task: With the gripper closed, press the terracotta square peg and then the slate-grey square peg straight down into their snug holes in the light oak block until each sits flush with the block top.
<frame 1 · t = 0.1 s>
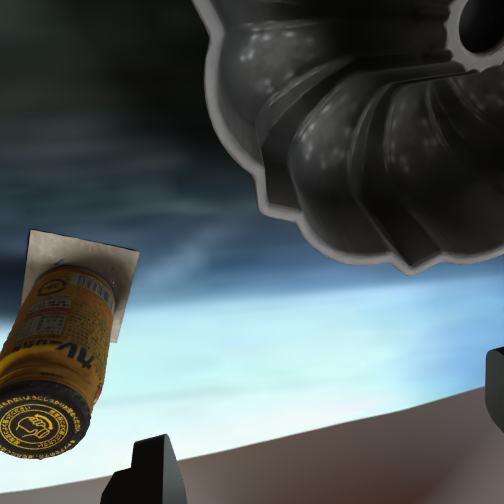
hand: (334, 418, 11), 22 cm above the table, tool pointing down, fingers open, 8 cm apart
bundt pan: (388, 18, 28), on the table
condiment: (78, 288, 33), on the table
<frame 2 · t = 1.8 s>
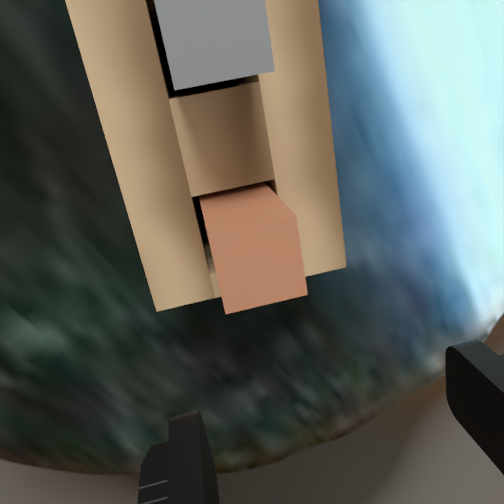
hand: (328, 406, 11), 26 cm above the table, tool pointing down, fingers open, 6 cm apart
peg terracotta: (246, 238, 24), point 12 cm above the table, slide at 0.0 cm
peg grey: (207, 35, 20), point 12 cm above the table, slide at 0.0 cm
oak block: (210, 126, 33), on the table
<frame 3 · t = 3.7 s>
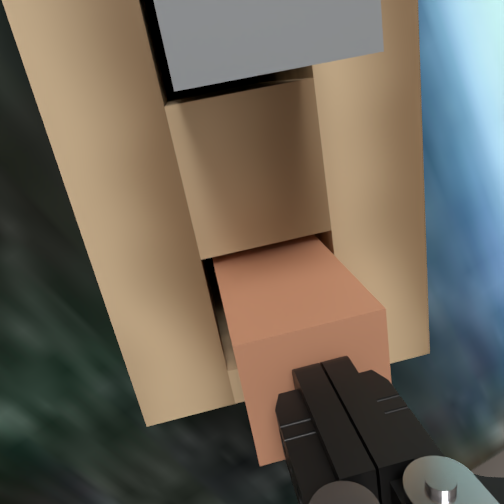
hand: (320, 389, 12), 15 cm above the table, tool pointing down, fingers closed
peg terracotta: (285, 319, 16), point 11 cm above the table, slide at 0.8 cm, touching gripper
oak block: (223, 141, 24), on the table
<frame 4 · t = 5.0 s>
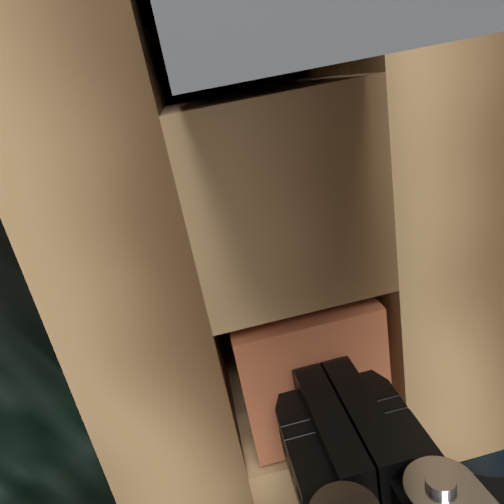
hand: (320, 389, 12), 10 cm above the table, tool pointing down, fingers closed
peg terracotta: (285, 319, 16), point 6 cm above the table, slide at 6.0 cm, touching gripper
oak block: (236, 153, 19), on the table
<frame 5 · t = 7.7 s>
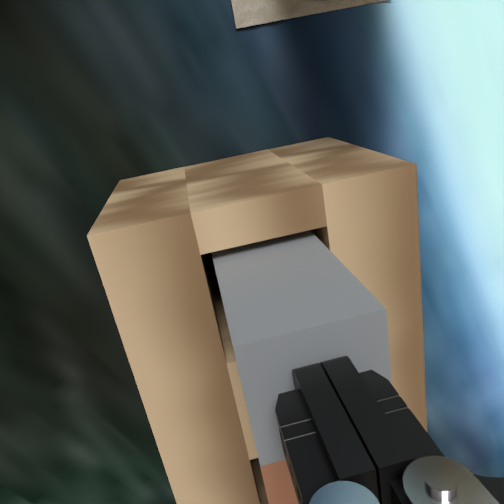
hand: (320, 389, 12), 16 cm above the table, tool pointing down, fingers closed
peg terracotta: (288, 425, 24), point 6 cm above the table, slide at 6.0 cm
peg grey: (285, 319, 16), point 12 cm above the table, slide at 0.3 cm, touching gripper
oak block: (254, 298, 28), on the table
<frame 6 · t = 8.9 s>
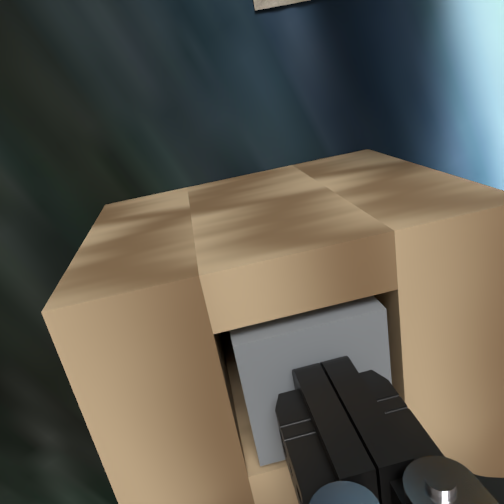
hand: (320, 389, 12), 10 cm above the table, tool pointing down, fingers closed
peg grey: (285, 319, 16), point 6 cm above the table, slide at 5.9 cm, touching gripper
oak block: (272, 345, 23), on the table
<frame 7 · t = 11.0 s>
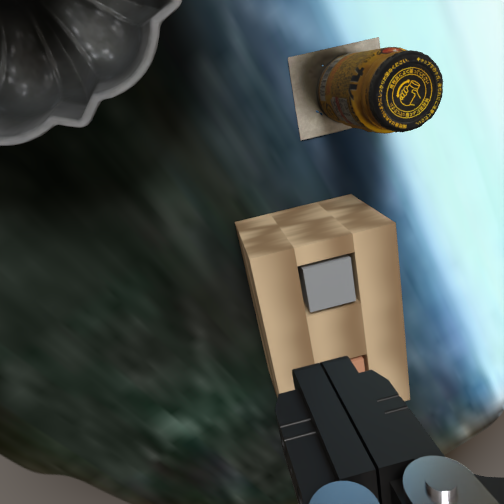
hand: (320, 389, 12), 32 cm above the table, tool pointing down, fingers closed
condiment: (337, 90, 41), on the table
peg terracotta: (330, 357, 44), point 6 cm above the table, slide at 6.0 cm
peg grey: (316, 266, 40), point 6 cm above the table, slide at 6.0 cm
oak block: (307, 287, 47), on the table
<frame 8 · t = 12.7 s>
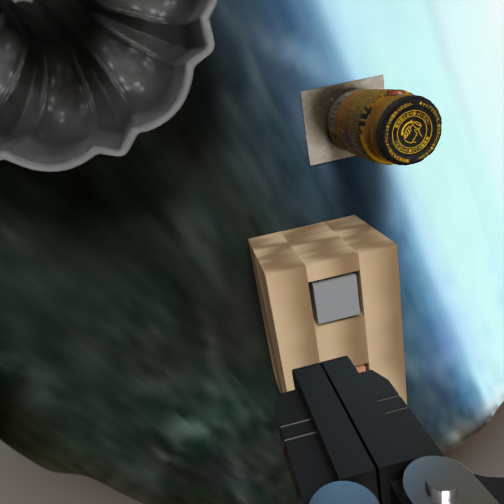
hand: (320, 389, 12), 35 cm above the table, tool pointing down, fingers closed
condiment: (344, 120, 45), on the table
peg terracotta: (334, 365, 47), point 6 cm above the table, slide at 6.0 cm
peg grey: (323, 282, 44), point 6 cm above the table, slide at 6.0 cm
oak block: (312, 299, 51), on the table
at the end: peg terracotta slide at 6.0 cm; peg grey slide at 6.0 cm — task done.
